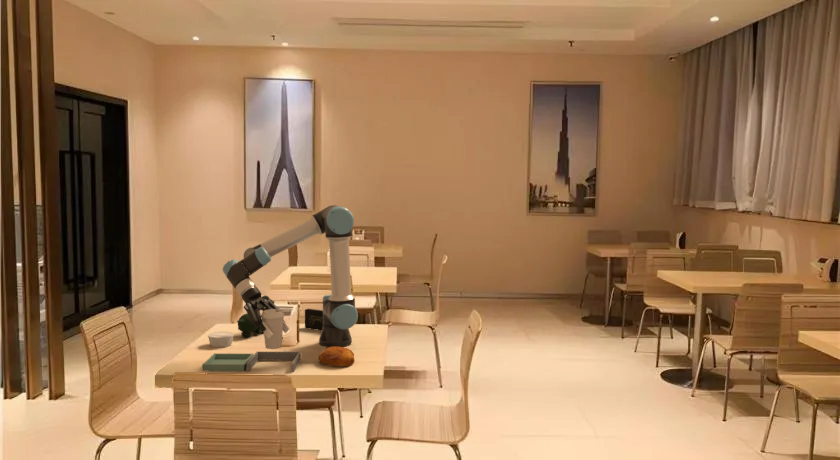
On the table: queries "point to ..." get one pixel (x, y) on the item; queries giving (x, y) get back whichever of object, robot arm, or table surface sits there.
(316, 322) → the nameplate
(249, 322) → the toy figurine
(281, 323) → the coffee cup
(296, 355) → the dock
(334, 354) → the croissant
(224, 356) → the tray
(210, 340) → the ramekin
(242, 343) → the table surface
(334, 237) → the robot arm
